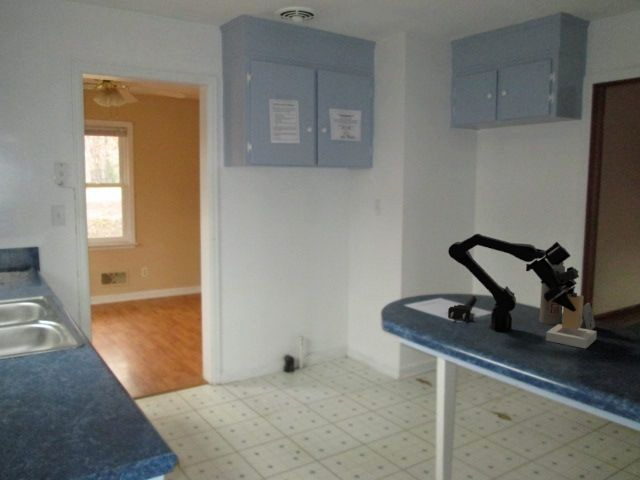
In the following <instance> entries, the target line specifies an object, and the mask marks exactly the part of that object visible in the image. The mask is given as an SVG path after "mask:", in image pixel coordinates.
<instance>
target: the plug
mask: <svg viewBox="0 0 640 480" xmlns="http://www.w3.org/2000/svg"><path fill="white" fill-rule="evenodd" d="M567 296H568V298H569V299H570V301H571V302H572V304H573V305H574V307H575V309H576V311H574V312H573V311H571V310H569V309H567V308H565V307H563V306H562V321H561V325H562V327H564V328H569V329H574V330H578V329H579V328H580V327H581V324H582V322H583V320H582V311H583V306H584V300H585V299H584V295H578V293H577V292H575V291H574V292H572V293H571V294H568V295H567Z"/></svg>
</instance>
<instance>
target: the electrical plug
mask: <svg viewBox="0 0 640 480" xmlns="http://www.w3.org/2000/svg"><path fill="white" fill-rule="evenodd" d="M476 299H477V297H476V296H475V295H472V296H471V298H470V299H469V300H467V302H466V303H465V304H457V305H456V304H455V305H453V306H450V307H449V308H448V309H447V317H448V319H452V320H453V319H454V320H462V321H471V316H472V315H471V312H472V311H471V308H472V307H471V305H472V304H473V302H475V301H476Z"/></svg>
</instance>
